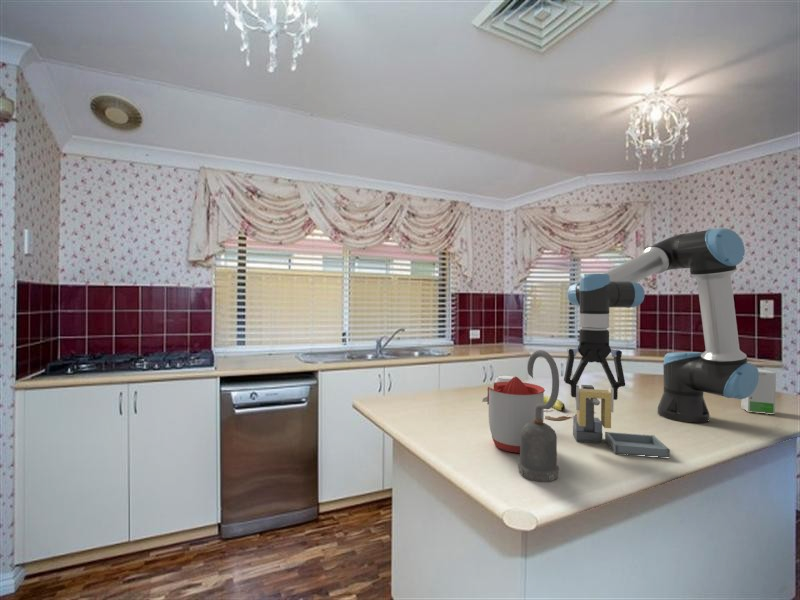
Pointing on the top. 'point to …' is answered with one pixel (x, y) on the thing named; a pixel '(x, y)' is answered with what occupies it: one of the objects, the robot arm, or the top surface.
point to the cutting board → (557, 406)
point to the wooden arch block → (605, 406)
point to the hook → (540, 434)
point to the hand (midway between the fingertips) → (593, 409)
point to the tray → (636, 444)
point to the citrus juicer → (512, 411)
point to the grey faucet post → (588, 423)
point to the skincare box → (762, 394)
